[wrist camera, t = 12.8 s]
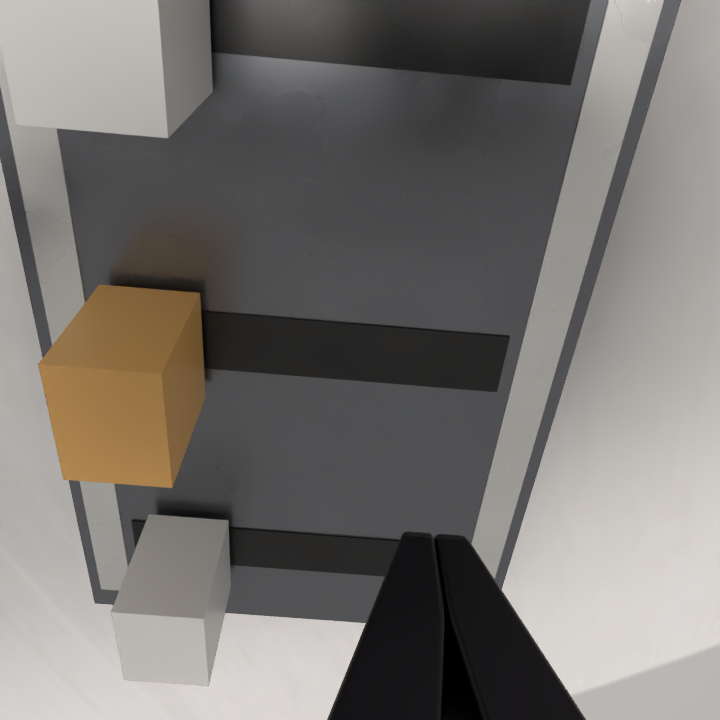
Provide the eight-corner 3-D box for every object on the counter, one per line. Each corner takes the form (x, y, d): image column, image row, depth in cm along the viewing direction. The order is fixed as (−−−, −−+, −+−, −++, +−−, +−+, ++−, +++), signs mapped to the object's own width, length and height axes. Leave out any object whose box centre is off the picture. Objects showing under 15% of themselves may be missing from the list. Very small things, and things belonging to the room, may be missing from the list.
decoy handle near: (212, 91, 16) (167, 137, 13) (93, 80, 16) (16, 124, 12) (205, -92, 14) (150, -95, 11) (69, -106, 14) (-30, -112, 10)
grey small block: (230, 586, 26) (208, 686, 22) (157, 581, 26) (124, 680, 22) (228, 520, 24) (203, 618, 20) (148, 514, 24) (110, 612, 20)
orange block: (205, 396, 21) (172, 488, 17) (114, 388, 21) (63, 479, 17) (199, 293, 19) (161, 373, 15) (99, 284, 19) (38, 364, 15)
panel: (482, 590, 29) (488, 633, 28) (111, 563, 29) (94, 604, 27) (694, -164, 15) (735, -175, 13) (-35, -239, 15) (-90, -259, 13)
